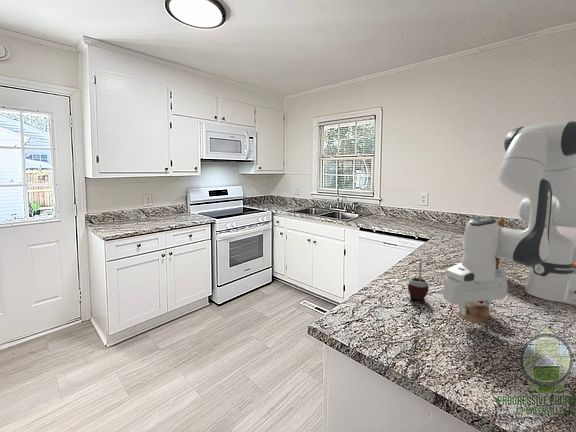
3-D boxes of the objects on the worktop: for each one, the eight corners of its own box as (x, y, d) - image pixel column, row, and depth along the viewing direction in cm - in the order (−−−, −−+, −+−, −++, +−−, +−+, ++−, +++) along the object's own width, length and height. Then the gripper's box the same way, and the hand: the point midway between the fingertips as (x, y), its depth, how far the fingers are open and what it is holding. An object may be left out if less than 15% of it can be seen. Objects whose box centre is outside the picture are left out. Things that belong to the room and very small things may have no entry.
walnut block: (473, 313, 97) (475, 300, 96) (488, 321, 91) (489, 308, 91) (459, 315, 96) (460, 302, 95) (472, 323, 90) (474, 309, 90)
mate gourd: (415, 305, 109) (418, 265, 107) (402, 296, 117) (404, 259, 115) (432, 303, 111) (435, 264, 109) (418, 294, 119) (420, 258, 117)
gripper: (497, 265, 96) (493, 305, 98) (441, 270, 92) (438, 312, 94) (515, 271, 90) (510, 314, 92) (456, 277, 86) (453, 321, 88)
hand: (473, 313), depth 93 cm, fingers closed on walnut block, 5 cm apart
